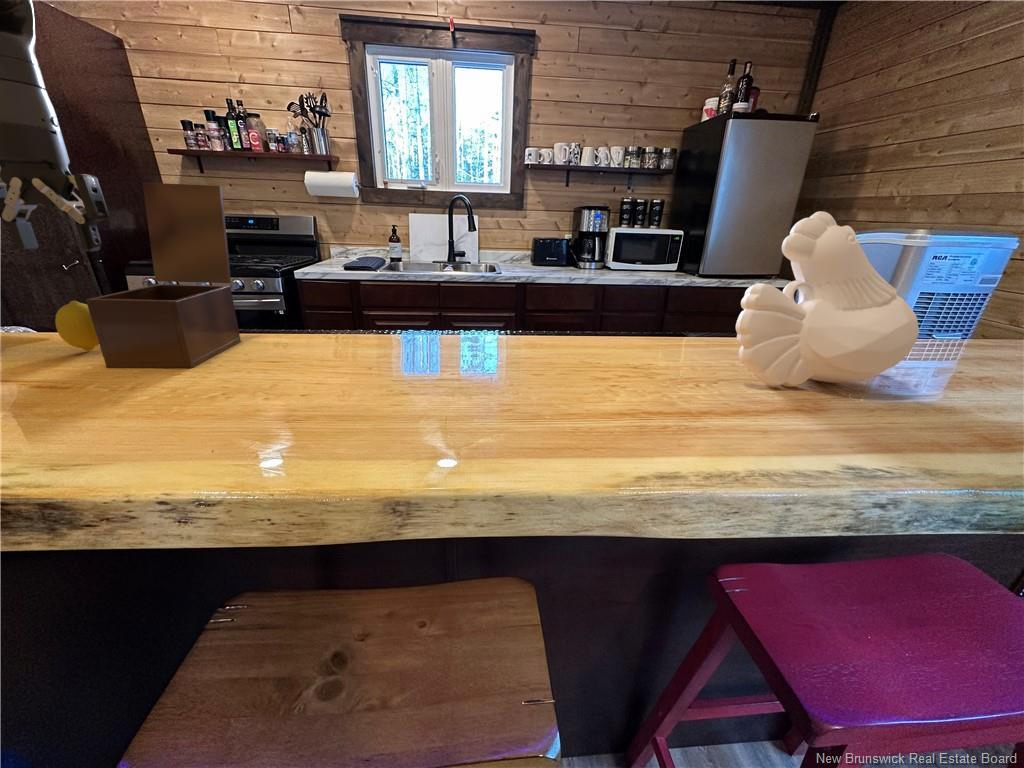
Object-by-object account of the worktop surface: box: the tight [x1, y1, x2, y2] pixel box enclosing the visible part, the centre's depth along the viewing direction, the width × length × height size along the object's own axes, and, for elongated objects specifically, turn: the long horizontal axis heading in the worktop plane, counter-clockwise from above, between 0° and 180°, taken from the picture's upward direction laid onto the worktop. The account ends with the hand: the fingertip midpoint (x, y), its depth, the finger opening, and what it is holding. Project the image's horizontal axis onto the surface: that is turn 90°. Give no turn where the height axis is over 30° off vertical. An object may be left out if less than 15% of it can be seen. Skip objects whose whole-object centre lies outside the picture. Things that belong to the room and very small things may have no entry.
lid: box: [142, 181, 232, 284], centre depth 72 cm, size 15×12×1 cm
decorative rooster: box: [735, 210, 920, 388], centre depth 67 cm, size 25×16×25 cm
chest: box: [85, 283, 242, 369], centre depth 68 cm, size 15×12×10 cm
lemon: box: [54, 300, 100, 352], centre depth 68 cm, size 6×6×8 cm
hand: (61, 249), depth 64 cm, fingers open, 8 cm apart
